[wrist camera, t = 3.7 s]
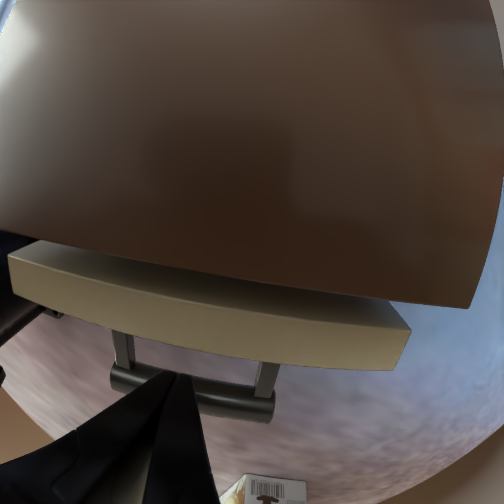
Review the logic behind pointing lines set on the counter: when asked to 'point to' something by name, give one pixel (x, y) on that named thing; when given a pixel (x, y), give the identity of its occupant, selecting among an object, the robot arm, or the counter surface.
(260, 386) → the drawer
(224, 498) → the coffee box
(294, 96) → the cabinet
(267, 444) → the counter surface
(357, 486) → the counter surface
